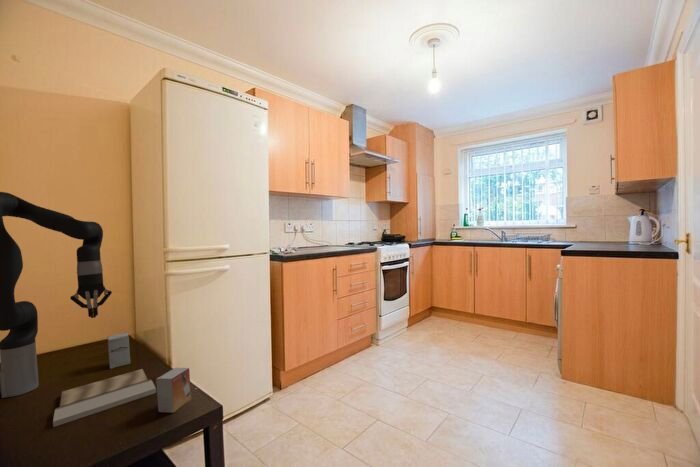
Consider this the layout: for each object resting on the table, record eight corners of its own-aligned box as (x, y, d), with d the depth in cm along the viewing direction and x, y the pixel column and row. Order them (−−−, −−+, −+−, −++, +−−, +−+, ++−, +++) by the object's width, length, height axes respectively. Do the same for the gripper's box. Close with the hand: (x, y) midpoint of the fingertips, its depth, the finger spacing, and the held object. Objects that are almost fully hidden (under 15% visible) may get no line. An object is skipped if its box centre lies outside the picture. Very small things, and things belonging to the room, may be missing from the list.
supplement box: (109, 369, 132) (107, 339, 132) (109, 364, 138) (107, 335, 138) (130, 363, 137) (128, 335, 137) (129, 359, 142) (127, 331, 142)
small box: (173, 413, 94) (171, 379, 94) (157, 412, 96) (155, 378, 95) (192, 399, 102) (189, 367, 102) (177, 398, 103) (175, 367, 103)
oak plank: (60, 411, 100) (59, 406, 100) (62, 396, 111) (62, 391, 111) (148, 383, 116) (147, 379, 116) (142, 372, 126) (142, 368, 126)
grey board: (53, 427, 91) (52, 421, 91) (55, 413, 99) (55, 408, 99) (156, 392, 108) (155, 388, 108) (151, 383, 116) (151, 379, 116)
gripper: (110, 270, 127) (113, 312, 128) (67, 274, 119) (70, 319, 119) (112, 271, 122) (115, 315, 122) (66, 276, 113) (70, 323, 113)
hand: (93, 317), depth 120 cm, fingers closed
